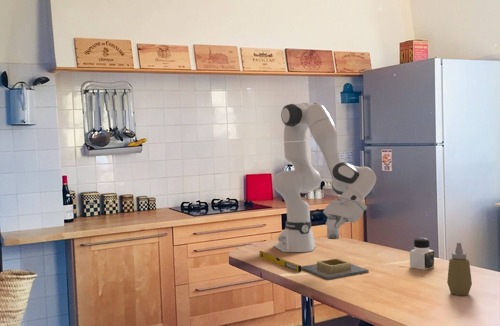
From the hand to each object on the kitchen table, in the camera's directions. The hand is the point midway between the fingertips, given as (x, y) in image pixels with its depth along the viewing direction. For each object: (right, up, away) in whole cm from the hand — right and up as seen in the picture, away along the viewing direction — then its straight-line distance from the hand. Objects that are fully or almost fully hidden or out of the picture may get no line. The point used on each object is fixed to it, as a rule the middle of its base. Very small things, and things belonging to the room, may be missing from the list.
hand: (331, 226), depth 231 cm
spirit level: (-21, -19, +16) cm, 32 cm away
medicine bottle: (+38, -17, +2) cm, 42 cm away
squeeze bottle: (+40, -20, -35) cm, 57 cm away
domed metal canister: (+1, -5, +1) cm, 5 cm away
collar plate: (+1, -19, +1) cm, 19 cm away
